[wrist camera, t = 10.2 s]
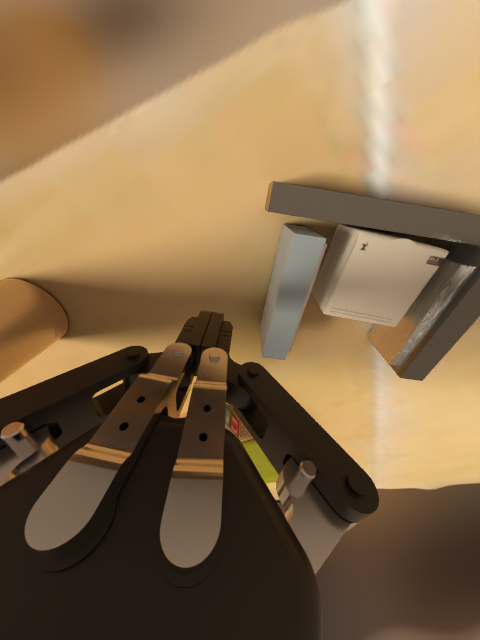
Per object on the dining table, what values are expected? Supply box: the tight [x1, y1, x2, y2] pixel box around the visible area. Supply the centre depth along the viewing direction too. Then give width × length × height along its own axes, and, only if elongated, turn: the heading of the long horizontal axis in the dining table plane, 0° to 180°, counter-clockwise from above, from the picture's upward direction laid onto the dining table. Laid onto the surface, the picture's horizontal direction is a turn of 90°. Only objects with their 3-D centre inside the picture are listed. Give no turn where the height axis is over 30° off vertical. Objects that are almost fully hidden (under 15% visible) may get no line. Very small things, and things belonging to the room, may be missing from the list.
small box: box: [311, 224, 449, 327], centre depth 20 cm, size 8×8×5 cm
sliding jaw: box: [260, 224, 328, 360], centre depth 20 cm, size 3×12×6 cm, turn 172°
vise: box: [265, 181, 480, 381], centre depth 20 cm, size 19×15×7 cm
